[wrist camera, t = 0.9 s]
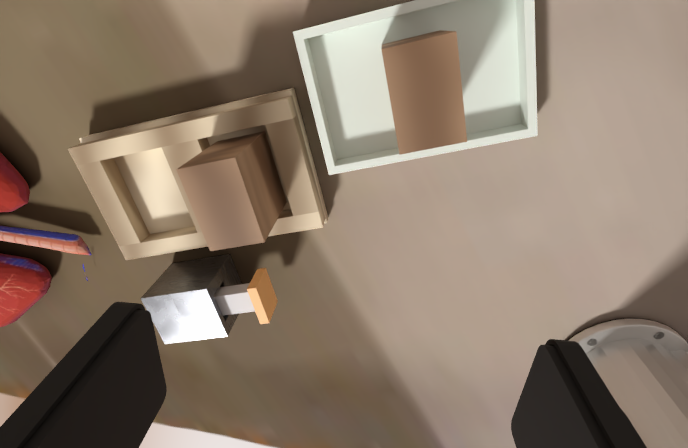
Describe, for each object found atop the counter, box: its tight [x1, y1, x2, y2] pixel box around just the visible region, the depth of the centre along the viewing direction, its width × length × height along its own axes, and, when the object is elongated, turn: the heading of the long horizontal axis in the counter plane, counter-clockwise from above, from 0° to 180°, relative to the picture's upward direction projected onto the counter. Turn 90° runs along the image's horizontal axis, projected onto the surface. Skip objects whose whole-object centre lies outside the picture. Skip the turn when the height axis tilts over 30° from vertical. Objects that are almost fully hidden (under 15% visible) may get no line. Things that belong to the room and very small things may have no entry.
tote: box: [293, 0, 538, 175], centre depth 28 cm, size 15×10×2 cm
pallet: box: [68, 88, 328, 260], centre depth 33 cm, size 18×11×3 cm, turn 103°
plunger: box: [214, 268, 278, 324], centre depth 35 cm, size 5×4×3 cm
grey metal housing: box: [141, 254, 242, 344], centre depth 37 cm, size 6×5×6 cm
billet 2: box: [381, 30, 467, 155], centre depth 26 cm, size 4×6×7 cm, turn 13°
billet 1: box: [176, 131, 287, 251], centre depth 29 cm, size 4×6×7 cm, turn 13°
